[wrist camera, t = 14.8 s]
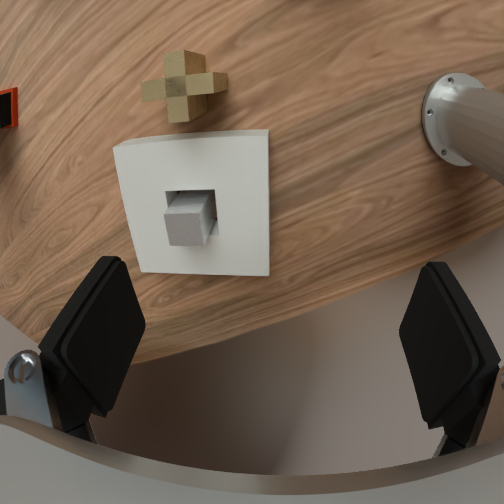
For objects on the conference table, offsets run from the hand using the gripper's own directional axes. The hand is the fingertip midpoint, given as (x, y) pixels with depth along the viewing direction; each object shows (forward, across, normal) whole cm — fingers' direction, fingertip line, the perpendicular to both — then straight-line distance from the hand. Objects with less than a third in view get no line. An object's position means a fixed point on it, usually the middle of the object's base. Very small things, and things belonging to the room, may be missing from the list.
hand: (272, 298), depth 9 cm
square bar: (+28, +10, +9) cm, 31 cm away
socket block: (+28, +10, +9) cm, 31 cm away
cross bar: (+28, +9, -6) cm, 30 cm away
